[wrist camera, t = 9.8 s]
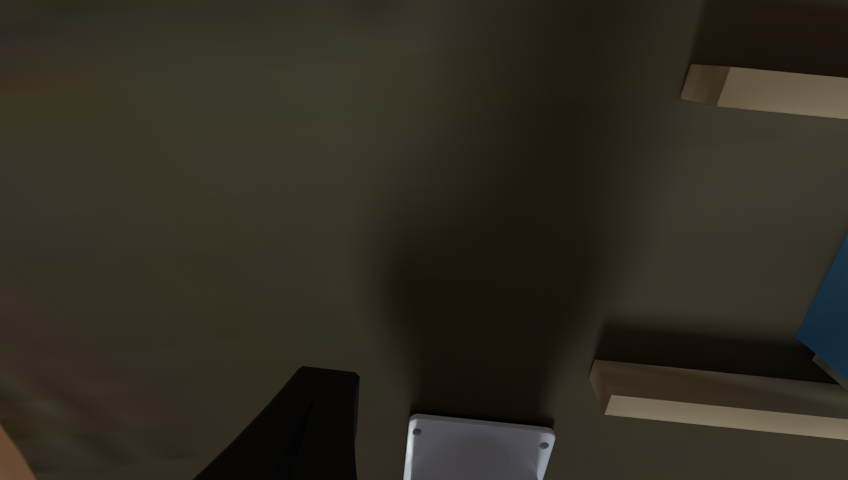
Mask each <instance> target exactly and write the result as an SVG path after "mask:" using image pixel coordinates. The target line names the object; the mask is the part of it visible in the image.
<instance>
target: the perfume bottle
mask: <svg viewBox="0 0 848 480" xmlns="http://www.w3.org/2000/svg"><path fill="white" fill-rule="evenodd" d="M795 337H797V338H798V339H799V340H800V341H801V342H803V343H804V344H805V345H806V346H807V347H809V348H810V349H811V350H812V351H813V352H815V353H816V354H817V355H818V356H819V357H821V358H822V359H823V360H824V361H825V362H827V363H828V364H829V365H830V366H832V367H833V368H834V369H835V370H836V371H838V372H839V373H840V374H841V375H842V376H844V377H845V378H846V379H847V380H848V234H847V236H846V238H845V240H844V242H843V244H842V246H841V248H840V250H839V252H838V254H837V256H836V258H835V260H834V261H833V263H832V265H831V267H830V269H829V271H828V273H827V275H826V277H825V279H824V281H823V283H822V285H821V287H820V289H819V291H818V293H817V295H816V297H815V299H814V301H813V303H812V305H811V307H810V309H809V311H808V313H807V315H806V316H805V318H804V320H803V322H802V324H801V326H800V328H799V330H798V332H797V334H796V336H795Z"/></svg>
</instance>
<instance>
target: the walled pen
mask: <svg viewBox="0 0 848 480" xmlns="http://www.w3.org/2000/svg"><path fill="white" fill-rule="evenodd" d="M680 98H681V99H685V100H690V101H695V102H699V103H704V104H708V105H713V106H719V107H729V108H740V109H750V110H760V111H770V112H781V113H791V114H801V115H812V116H822V117H832V118H842V119H848V78H841V77H831V76H820V75H810V74H800V73H789V72H779V71H769V70H758V69H748V68H737V67H725V66H710V65H696V64H691V66H690V69H689V72H688V75H687V78H686V81H685V84H684V87H683V90H682V93H681V96H680ZM812 361H813V362H815V363H816V364H817V365H818V366H819V367H820V368H822V369H823V370H824V371H825V372H826V373H827V374H829V375H830V376H831V377H832V378H833V379H834V380H836V381H837V382H838V383H839V384H840V385H839V384H829V383H819V382H810V381H800V380H790V379H780V378H771V377H761V376H751V375H742V374H732V373H722V372H713V371H703V370H693V369H684V368H674V367H664V366H654V365H645V364H635V363H625V362H616V361H606V360H596V359H595V360H594V363H593V366H592V369H591V372H590V375H589V379H590V382H591V384H592V386H593V389H594V391H595V393H596V396H597V398H598V400H599V403H600V405H601V407H602V410H603V412H604V414H606V415H615V416H625V417H634V418H644V419H654V420H663V421H673V422H682V423H692V424H702V425H711V426H721V427H730V428H740V429H750V430H759V431H769V432H778V433H788V434H797V435H807V436H817V437H826V438H836V439H845V440H848V380H847V379H846V378H845V377H844V376H842V375H841V374H840V373H839V372H838V371H836V370H835V369H834V368H833V367H832V366H830V365H829V364H828V363H827V362H825V361H824V360H823V359H822V358H821V357H819V356H818V355H817V354H815V356H814V357H813V359H812Z"/></svg>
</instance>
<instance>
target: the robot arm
mask: <svg viewBox="0 0 848 480" xmlns="http://www.w3.org/2000/svg"><path fill="white" fill-rule="evenodd" d="M359 381H360V377H359V376H358V375H357V374H356V373H355V372H347V371H339V370H331V369H322V368H314V367H306V366H302V367H301V368H299V369H298V370H297V371H296V373H295V374H294V375H293V376H292V377H291V379H290V380H289V381H288V382H287V383H286V384H285V386H284V387H283V388H282V389H281V390H280V391H279V393H278V394H277V395H276V396H275V397H274V398H273V399H272V400H271V402H270V403H269V404H268V405H267V406H266V407H265V408H264V409H263V410H262V412H261V413H260V414H259V415H258V416H257V417H256V418H255V419H254V420H253V421H252V422H251V423H250V424H249V425H248V426H247V427H246V428H245V429H244V430H243V431H242V432H241V433H240V435H239V436H238V437H237V438H236V439H235V440H234V441H233V442H232V443H231V444H230V445H229V446H228V447H227V448H226V449H225V450H224V451H222V452H221V453H220V454H219V455H218V456H217V457H216V458H215V459H214V460H213V461H212V462H211V463H210V464H209V465H208V466H207V467H206V468H205V469H204V470H203V471H201V472H200V473H199V474H198V475H197V476H196V477H195V478H194V479H193V480H357V475H356V464H355V446H354V444H355V438H356V432H357V415H358V398H359ZM416 429H420V430H416ZM554 441H555V434H554V432H553V430H552V429H550V428H547V427H539V426H530V425H520V424H511V423H501V422H492V421H482V420H473V419H463V418H453V417H444V416H434V415H425V414H414V415H412V416H411V417H410V419H409V428H408V438H407V448H406V458H405V468H404V478H403V480H543V477H544V474H545V471H546V467H547V464H548V461H549V458H550V454H551V451H552V448H553V445H554ZM542 442H545V443H542Z"/></svg>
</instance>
